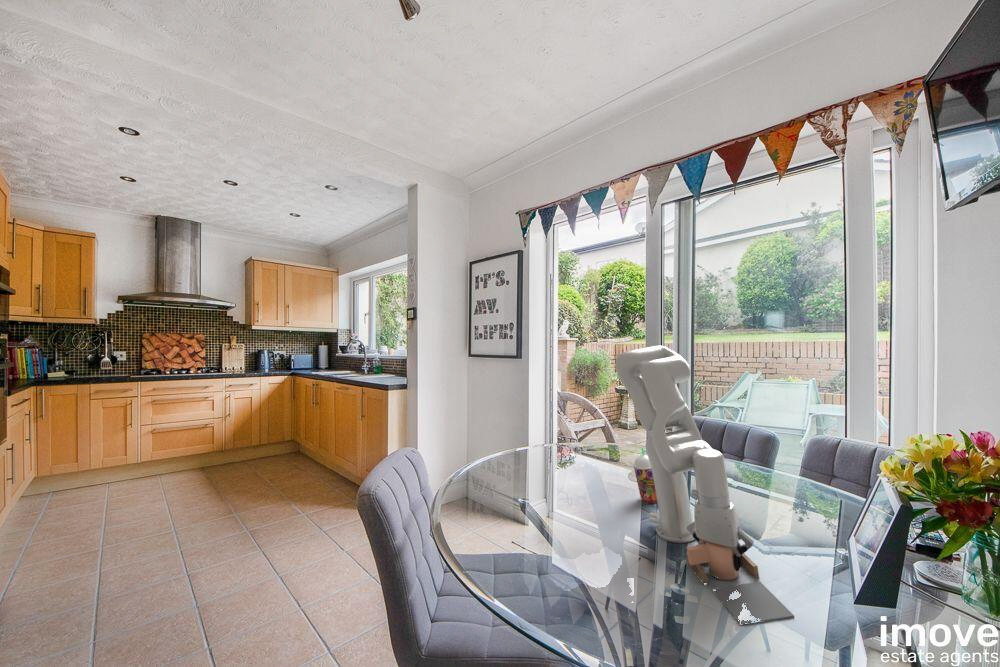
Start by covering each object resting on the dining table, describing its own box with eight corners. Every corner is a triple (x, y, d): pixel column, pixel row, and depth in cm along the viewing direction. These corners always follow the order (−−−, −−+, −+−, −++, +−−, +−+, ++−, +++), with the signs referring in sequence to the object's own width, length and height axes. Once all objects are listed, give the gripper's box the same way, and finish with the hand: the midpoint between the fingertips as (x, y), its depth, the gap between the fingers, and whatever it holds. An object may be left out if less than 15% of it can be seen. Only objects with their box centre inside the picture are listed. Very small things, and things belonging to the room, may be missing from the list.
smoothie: (650, 507, 150) (641, 453, 149) (634, 499, 157) (626, 448, 157) (667, 500, 153) (659, 447, 152) (650, 493, 161) (642, 442, 160)
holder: (687, 563, 116) (685, 552, 115) (736, 555, 115) (735, 544, 115) (704, 586, 106) (702, 574, 105) (759, 577, 105) (757, 565, 105)
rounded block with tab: (729, 561, 113) (725, 533, 112) (744, 577, 106) (740, 547, 105) (685, 568, 113) (681, 539, 112) (698, 585, 106) (693, 555, 105)
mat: (712, 590, 103) (712, 589, 103) (760, 583, 103) (759, 581, 103) (740, 625, 92) (740, 624, 91) (794, 617, 91) (794, 615, 91)
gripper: (674, 497, 112) (683, 560, 113) (746, 511, 99) (756, 582, 100) (685, 485, 117) (693, 546, 118) (755, 498, 105) (764, 566, 105)
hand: (722, 562), depth 109 cm, fingers closed on rounded block with tab, 7 cm apart
